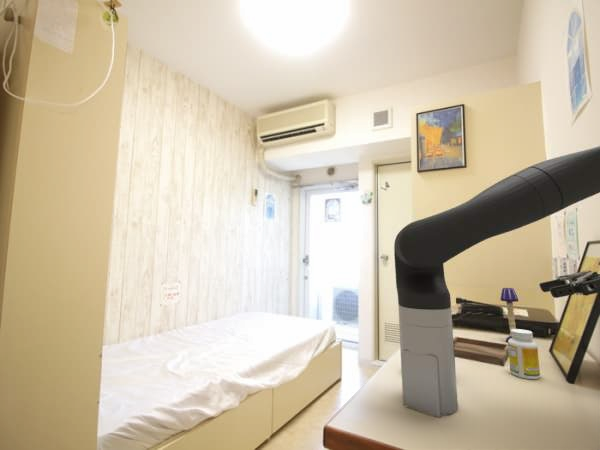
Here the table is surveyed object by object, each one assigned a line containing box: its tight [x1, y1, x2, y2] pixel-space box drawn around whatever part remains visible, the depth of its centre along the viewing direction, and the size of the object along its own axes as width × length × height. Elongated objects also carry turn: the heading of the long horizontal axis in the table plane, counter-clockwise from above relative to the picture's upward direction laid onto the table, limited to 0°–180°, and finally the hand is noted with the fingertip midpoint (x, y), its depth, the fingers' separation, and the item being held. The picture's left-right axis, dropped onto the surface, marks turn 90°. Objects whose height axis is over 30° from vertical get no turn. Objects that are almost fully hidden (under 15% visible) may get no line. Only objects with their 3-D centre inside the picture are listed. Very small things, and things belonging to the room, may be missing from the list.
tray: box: [453, 336, 509, 367], centre depth 81 cm, size 15×14×2 cm
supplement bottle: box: [507, 328, 541, 380], centre depth 66 cm, size 5×5×10 cm
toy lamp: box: [500, 287, 519, 344], centre depth 92 cm, size 5×5×17 cm
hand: (545, 290), depth 68 cm, fingers open, 8 cm apart
